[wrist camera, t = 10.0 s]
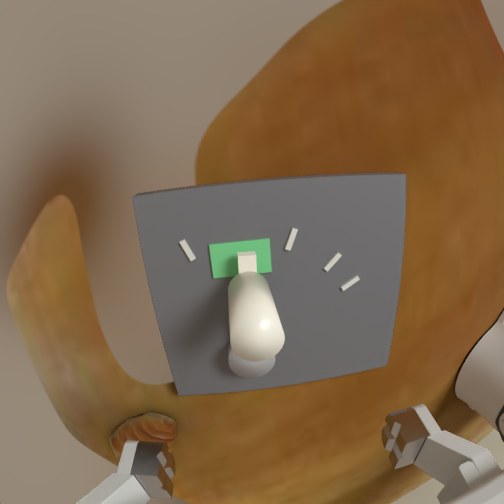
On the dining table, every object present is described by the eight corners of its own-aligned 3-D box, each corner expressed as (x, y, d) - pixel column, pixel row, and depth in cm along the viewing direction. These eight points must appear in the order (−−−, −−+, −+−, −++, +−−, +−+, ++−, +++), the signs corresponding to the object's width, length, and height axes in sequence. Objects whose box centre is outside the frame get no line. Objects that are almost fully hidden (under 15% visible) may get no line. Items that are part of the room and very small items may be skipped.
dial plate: (396, 172, 23) (407, 174, 21) (381, 356, 29) (387, 366, 27) (138, 193, 22) (131, 197, 20) (180, 385, 28) (178, 397, 26)
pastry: (138, 396, 28) (131, 423, 25) (194, 422, 30) (192, 449, 26) (108, 434, 30) (101, 458, 27) (156, 456, 32) (153, 480, 28)
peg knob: (272, 363, 25) (287, 429, 18) (229, 367, 25) (233, 434, 18) (271, 247, 22) (293, 294, 15) (219, 250, 22) (218, 300, 15)
